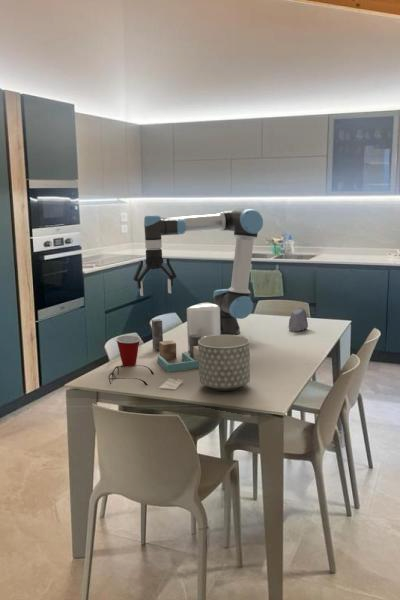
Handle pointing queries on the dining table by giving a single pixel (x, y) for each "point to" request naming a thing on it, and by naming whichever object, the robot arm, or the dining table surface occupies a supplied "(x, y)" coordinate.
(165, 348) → the block
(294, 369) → the dining table surface
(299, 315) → the stone
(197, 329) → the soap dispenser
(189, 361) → the teal tray
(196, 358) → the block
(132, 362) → the plastic cup
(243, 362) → the planter
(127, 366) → the eyeglasses
